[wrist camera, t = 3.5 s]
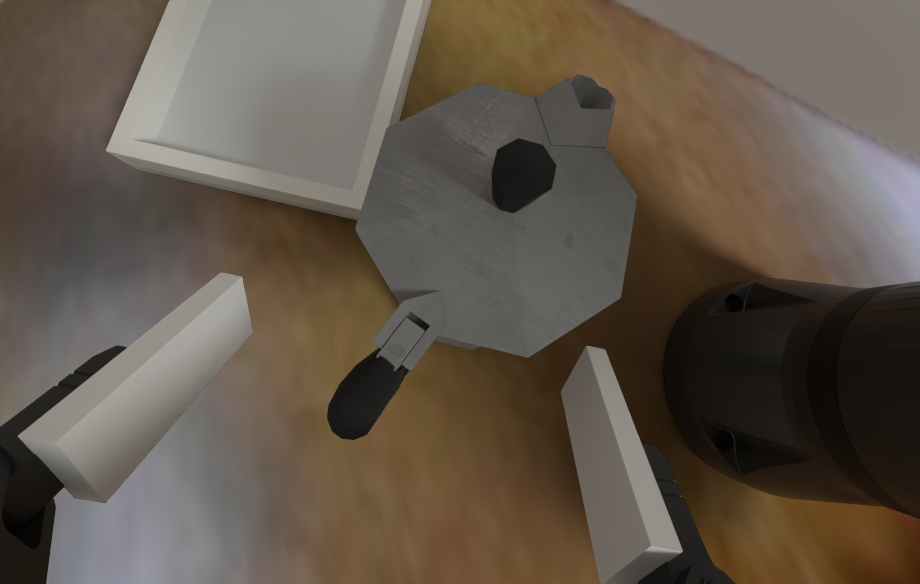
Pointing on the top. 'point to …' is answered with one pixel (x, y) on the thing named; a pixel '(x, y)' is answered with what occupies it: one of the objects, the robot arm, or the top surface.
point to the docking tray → (272, 96)
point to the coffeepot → (489, 231)
